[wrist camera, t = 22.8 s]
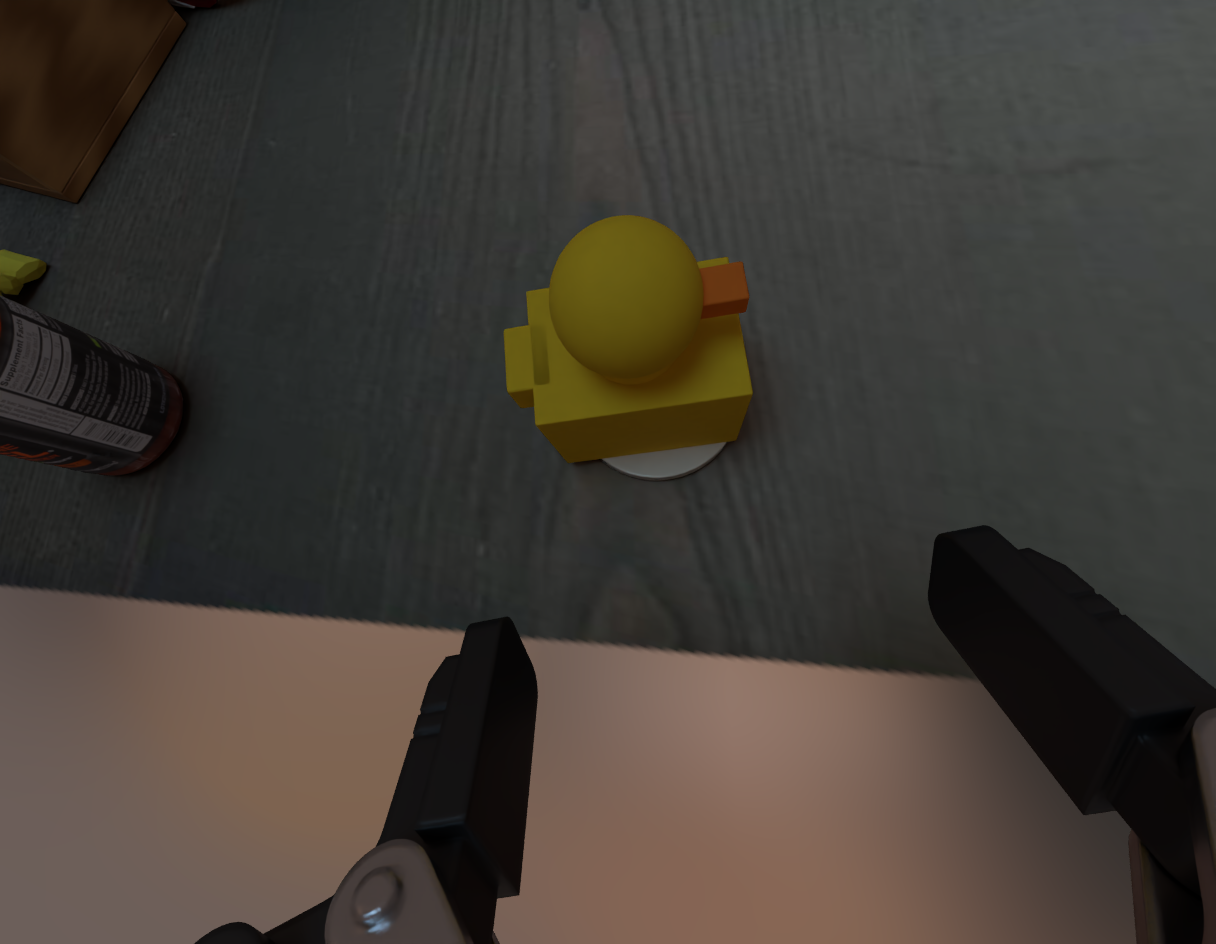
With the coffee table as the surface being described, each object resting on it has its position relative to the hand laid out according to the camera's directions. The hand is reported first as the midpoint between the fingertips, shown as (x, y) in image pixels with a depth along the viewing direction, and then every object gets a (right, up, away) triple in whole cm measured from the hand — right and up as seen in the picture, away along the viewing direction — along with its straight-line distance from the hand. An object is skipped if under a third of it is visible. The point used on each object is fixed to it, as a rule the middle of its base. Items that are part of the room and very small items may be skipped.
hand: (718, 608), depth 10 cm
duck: (-1, +6, +12) cm, 13 cm away
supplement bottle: (-26, +5, +16) cm, 31 cm away
